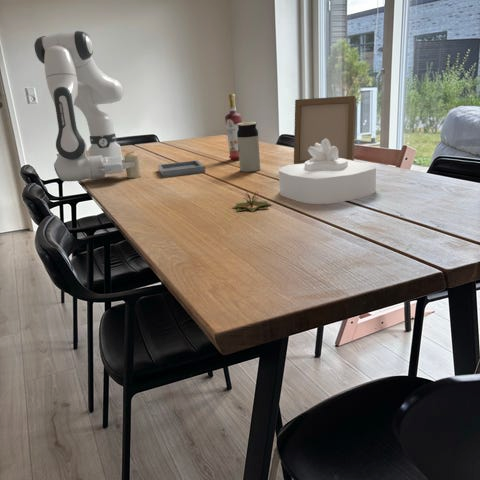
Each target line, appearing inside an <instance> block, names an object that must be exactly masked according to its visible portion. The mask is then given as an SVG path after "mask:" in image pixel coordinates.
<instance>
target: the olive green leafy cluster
mask: <svg viewBox="0 0 480 480" xmlns="http://www.w3.org/2000/svg"><path fill="white" fill-rule="evenodd" d="M244 194H245V195H246V196H245V197H243V199H244V200H245V201H246V202H240V203H236V205H235V206H233V207H232V209H235V208H237V209H236V212H240V211H241V212H242V211H244V210H245V208H246V211H251V212H252V213H254V212H255V211H256V210H257V209H259V207H260V209H261V210H269V208H268V206H272V204H271V203H268V201H267V200H266V201H262V200H261V201H258V197H257V196H256V195H259V192H257V191H255V192H254V194H253V196H252V197H251V196H250V194H249V192H246V193H244Z"/></svg>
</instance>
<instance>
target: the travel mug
mask: <svg viewBox="0 0 480 480" xmlns="http://www.w3.org/2000/svg"><path fill="white" fill-rule="evenodd" d="M257 123H258V122H256V121H249V122H248V121H247V122H242V123H238V124H237V125H238V132H237V138H238V151H239V160H238V161H239V162H238V163H239V171H241V172H242V173H253V172H258V171H260V170H261V162H260V161H261V160H260V159H261V158H260V157H261V156H260V142H259V130H258V129H257Z"/></svg>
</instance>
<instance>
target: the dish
mask: <svg viewBox="0 0 480 480" xmlns="http://www.w3.org/2000/svg"><path fill="white" fill-rule="evenodd" d="M157 169H158V172H159V174H160V176H161V177H162V178H163V179H165V178H172V177H180V176H188V175H195V174H204V173H206V166H205V165H204V164H203V163H201V162H200V161H199V160H198V159H194V160H188V161H179V162H172V163H171V162H169V163H163V164H158V165H157Z"/></svg>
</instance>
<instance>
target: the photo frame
mask: <svg viewBox="0 0 480 480" xmlns="http://www.w3.org/2000/svg"><path fill="white" fill-rule="evenodd" d="M294 105H295V106H294V139H293V140H294V141H293V144H294V145H293V164H303V163H305V162H306V161H308V160H310V159H311V158H314V157H312V156H311V155H310V153H309V152H308V148H309V147H310V146H312V147H314V145H315V143H319V144H321V142H322V140H324V139H325V138H326V139H328V140H329V142H330V144H331V147H333V146H335V147H337V149H338V158H343V159H347V160H352V161H355V142H356V141H355V138H356V114H357V113H356V111H357V110H356V109H357V97H356V96H355V95H347V96H345V95H344V96H334V97H333V96H332V97H314V98H301V99H295V100H294Z"/></svg>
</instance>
